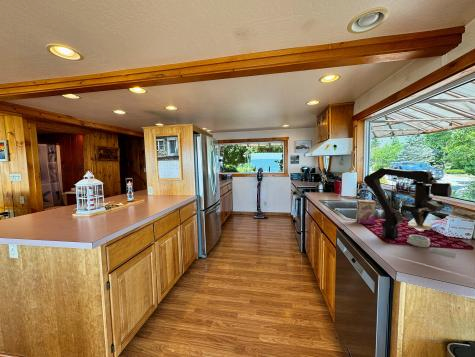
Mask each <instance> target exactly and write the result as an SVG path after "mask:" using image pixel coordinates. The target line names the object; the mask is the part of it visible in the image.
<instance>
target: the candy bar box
mask: <svg viewBox="0 0 475 357" xmlns="http://www.w3.org/2000/svg"><path fill="white" fill-rule="evenodd" d="M376 210H377V201H376V200H367V199H366V200H365V199H357V200H356V213H355V215H356V216H355V222H356V223H357V224H363V225H364V224H365V225H373V224H375V225H376Z"/></svg>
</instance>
